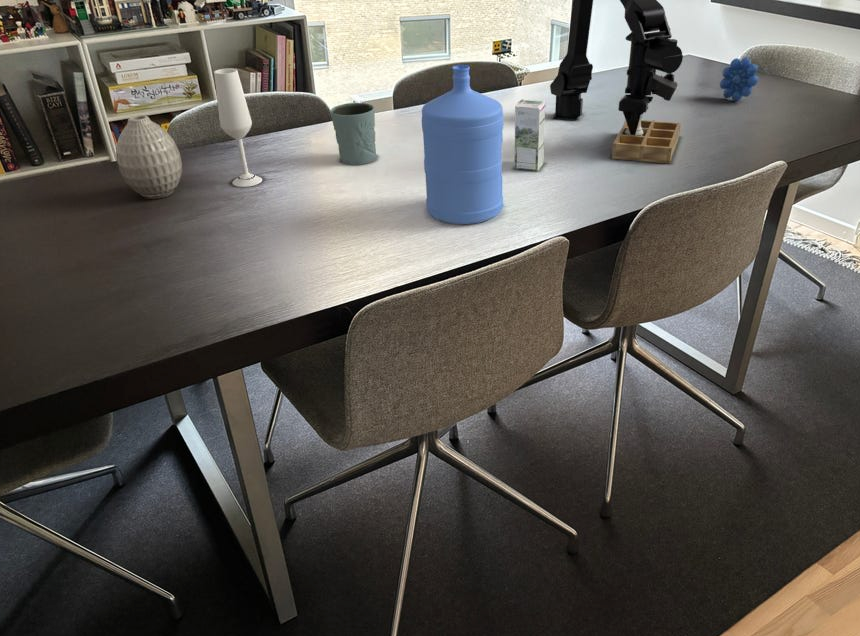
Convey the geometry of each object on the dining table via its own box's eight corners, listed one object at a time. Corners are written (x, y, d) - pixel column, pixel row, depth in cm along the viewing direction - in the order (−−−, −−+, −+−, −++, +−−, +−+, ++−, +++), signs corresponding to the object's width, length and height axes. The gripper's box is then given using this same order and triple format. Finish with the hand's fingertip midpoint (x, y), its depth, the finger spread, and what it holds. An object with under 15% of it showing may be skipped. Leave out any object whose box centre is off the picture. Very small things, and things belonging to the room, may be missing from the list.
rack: (611, 158, 176) (612, 143, 174) (625, 133, 192) (626, 118, 190) (669, 163, 172) (671, 148, 170) (678, 137, 188) (680, 122, 186)
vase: (131, 209, 158) (108, 130, 149) (124, 190, 167) (101, 114, 158) (193, 197, 163) (175, 120, 153) (183, 179, 172) (164, 105, 163)
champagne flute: (252, 173, 174) (231, 65, 160) (268, 180, 170) (248, 70, 156) (226, 181, 170) (203, 71, 157) (242, 189, 166) (219, 76, 153)
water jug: (478, 232, 144) (475, 81, 129) (411, 216, 152) (401, 72, 136) (516, 204, 155) (519, 62, 139) (453, 190, 162) (448, 54, 146)
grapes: (762, 102, 211) (771, 57, 204) (747, 107, 207) (755, 61, 201) (727, 94, 219) (734, 50, 212) (712, 98, 215) (719, 54, 208)
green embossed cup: (387, 158, 180) (383, 107, 174) (355, 169, 174) (349, 117, 168) (360, 149, 186) (354, 100, 180) (327, 160, 180) (321, 109, 174)
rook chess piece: (644, 141, 180) (648, 107, 175) (625, 141, 180) (629, 107, 176) (641, 135, 184) (645, 101, 179) (622, 135, 184) (626, 102, 179)
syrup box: (544, 163, 175) (546, 99, 167) (537, 171, 170) (539, 107, 162) (520, 161, 176) (521, 98, 168) (513, 169, 172) (514, 105, 164)
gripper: (672, 76, 163) (663, 147, 171) (681, 56, 177) (672, 122, 186) (621, 73, 166) (614, 142, 175) (634, 54, 180) (627, 119, 189)
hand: (634, 131), depth 181 cm, fingers closed on rook chess piece, 4 cm apart
